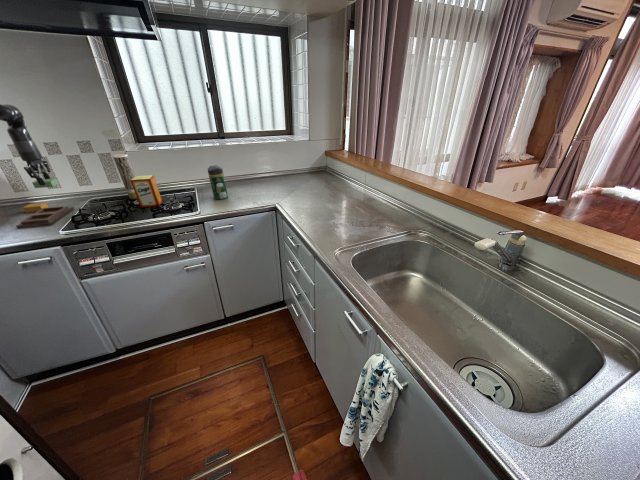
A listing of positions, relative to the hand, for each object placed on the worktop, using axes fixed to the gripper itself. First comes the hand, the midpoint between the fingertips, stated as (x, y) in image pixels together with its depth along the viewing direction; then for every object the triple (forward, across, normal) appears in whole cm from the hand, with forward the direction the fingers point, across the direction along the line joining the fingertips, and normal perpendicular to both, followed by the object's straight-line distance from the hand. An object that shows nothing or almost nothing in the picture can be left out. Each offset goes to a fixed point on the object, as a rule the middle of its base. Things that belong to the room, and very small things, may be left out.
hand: (45, 183), depth 140 cm
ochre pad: (+15, -2, -12) cm, 19 cm away
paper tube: (+15, -9, +35) cm, 39 cm away
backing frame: (+15, +12, 0) cm, 19 cm away
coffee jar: (+15, +5, +86) cm, 87 cm away
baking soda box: (+15, +6, +48) cm, 51 cm away
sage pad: (+1, 0, 0) cm, 2 cm away
